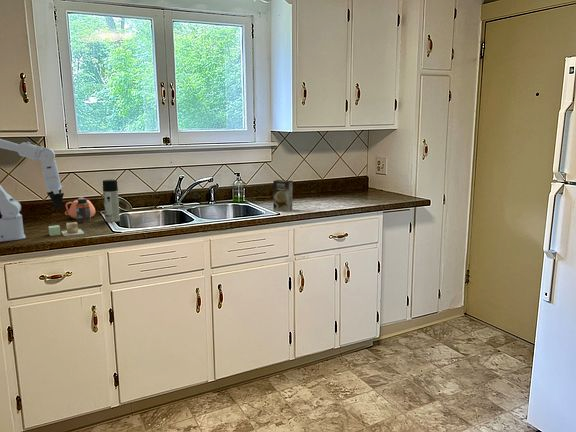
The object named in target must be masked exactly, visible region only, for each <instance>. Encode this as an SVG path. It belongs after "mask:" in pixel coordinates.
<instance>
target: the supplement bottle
mask: <svg viewBox="0 0 576 432" xmlns="http://www.w3.org/2000/svg"><path fill="white" fill-rule="evenodd" d="M79 198H80V199H78V198H77V200H78V203H77V204H76V210H77V219H76V220H77V223H80V224H81V223H88V222H91V220H92V217H91V216H90V206H89V203H87V200H88V199H87V197H86V198H85V197H79Z"/></svg>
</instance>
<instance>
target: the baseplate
mask: <svg viewBox="0 0 576 432" xmlns="http://www.w3.org/2000/svg"><path fill="white" fill-rule="evenodd" d="M60 233H62V235H63V236H64V237H65V236H75V235H84V234H85V232H84V231H83V230H82V228H78V233H71V234H68V233H67V230H60Z"/></svg>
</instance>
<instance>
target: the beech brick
mask: <svg viewBox="0 0 576 432" xmlns="http://www.w3.org/2000/svg"><path fill="white" fill-rule="evenodd" d="M65 226H66V231H67V233H68V234H71V233H78V229H79V227H78V226H79V225H78V221H74V222H66V225H65Z"/></svg>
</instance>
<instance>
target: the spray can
mask: <svg viewBox="0 0 576 432" xmlns="http://www.w3.org/2000/svg"><path fill="white" fill-rule="evenodd" d="M102 193H103V207H104V210H103V211H104V220H105V222H107V223H108V222H109V223H118V222H120V220H121V219H120V203H119V200H120V199H119V188H118V180H117V179H105V180H104V179H103V180H102Z"/></svg>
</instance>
